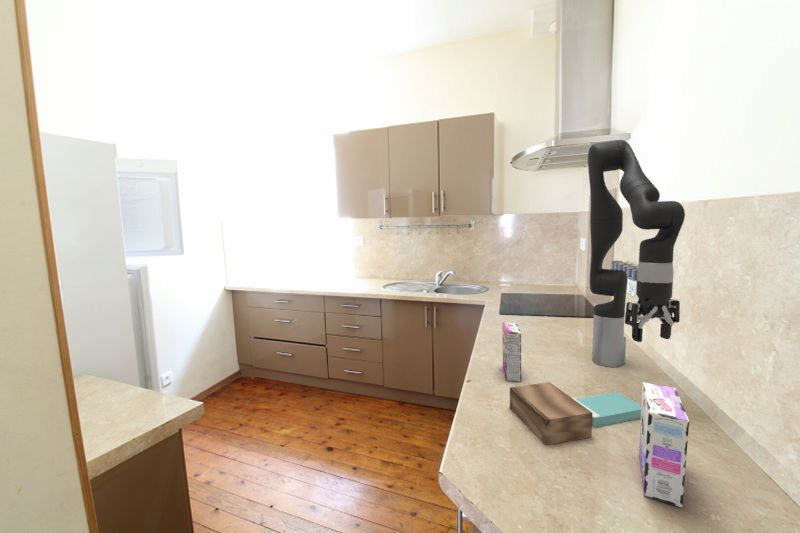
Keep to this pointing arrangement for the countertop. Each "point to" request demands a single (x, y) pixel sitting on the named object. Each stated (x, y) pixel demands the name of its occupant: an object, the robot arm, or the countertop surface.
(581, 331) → the countertop surface
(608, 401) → the thin teal board
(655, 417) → the candy box
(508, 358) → the candy bar box
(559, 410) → the wood block
